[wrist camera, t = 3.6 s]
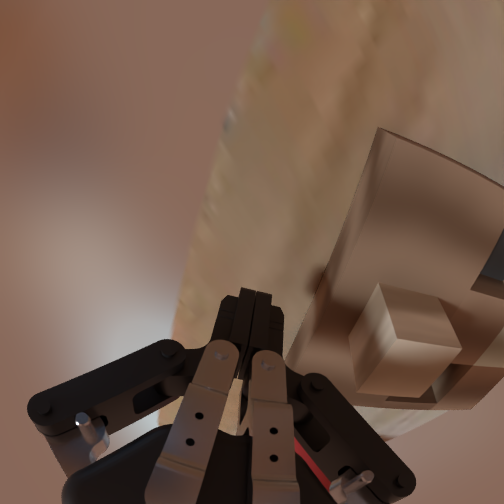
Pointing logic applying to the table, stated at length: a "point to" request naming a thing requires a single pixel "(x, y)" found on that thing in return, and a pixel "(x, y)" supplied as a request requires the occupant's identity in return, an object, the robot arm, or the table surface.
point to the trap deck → (414, 270)
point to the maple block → (401, 343)
